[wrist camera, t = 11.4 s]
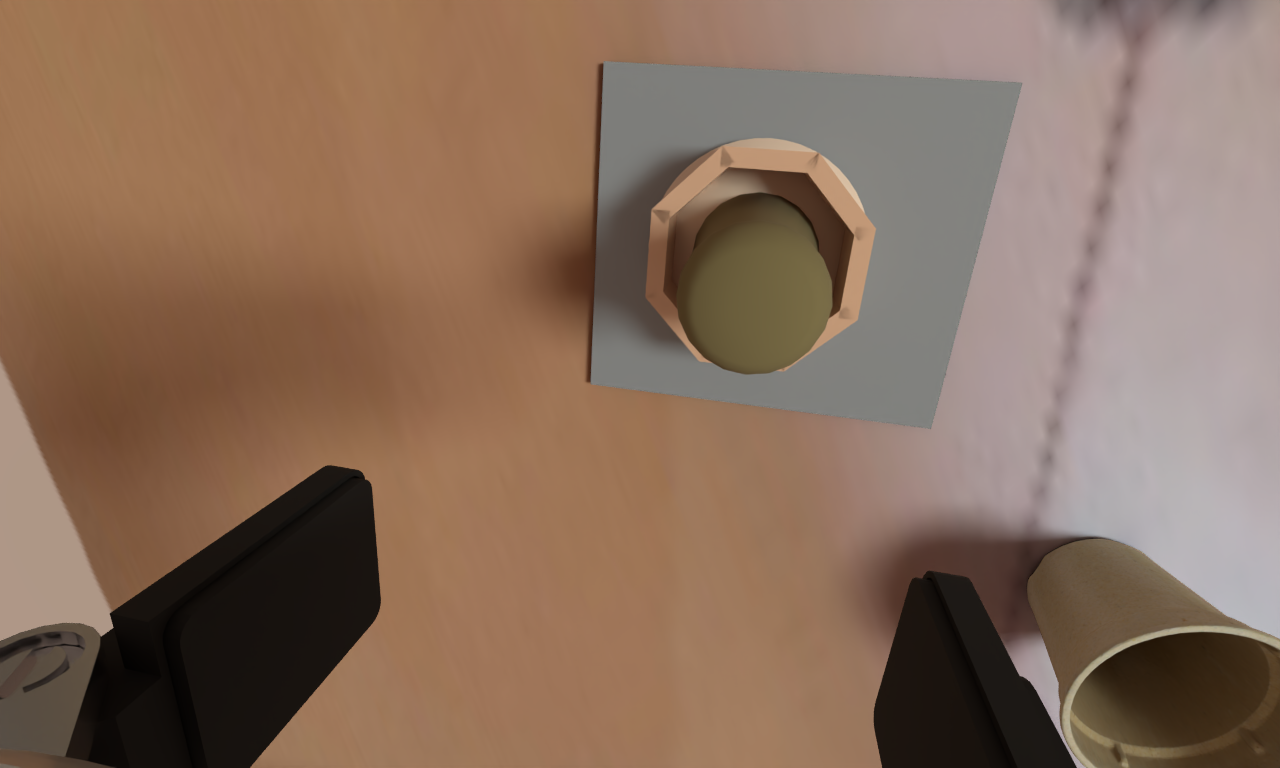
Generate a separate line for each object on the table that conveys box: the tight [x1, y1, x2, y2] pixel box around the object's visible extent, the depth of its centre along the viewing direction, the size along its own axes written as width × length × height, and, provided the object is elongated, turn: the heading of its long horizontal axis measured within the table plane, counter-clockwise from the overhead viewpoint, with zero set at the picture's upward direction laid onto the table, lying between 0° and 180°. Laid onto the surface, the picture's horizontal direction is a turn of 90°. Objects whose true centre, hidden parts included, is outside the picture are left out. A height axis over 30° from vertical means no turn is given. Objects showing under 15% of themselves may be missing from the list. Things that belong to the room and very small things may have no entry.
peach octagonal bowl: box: [645, 138, 876, 372], centre depth 28 cm, size 10×10×4 cm
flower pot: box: [1027, 539, 1280, 768], centre depth 29 cm, size 9×9×9 cm
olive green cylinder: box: [676, 192, 833, 375], centre depth 24 cm, size 6×6×11 cm
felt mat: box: [591, 61, 1022, 429], centre depth 30 cm, size 16×18×1 cm
